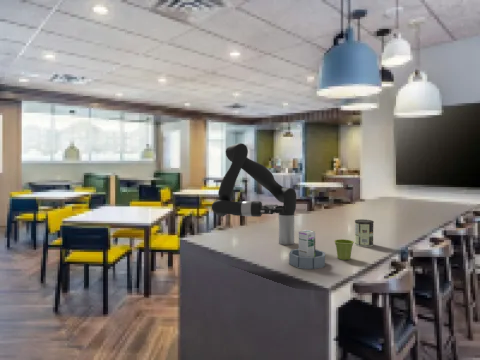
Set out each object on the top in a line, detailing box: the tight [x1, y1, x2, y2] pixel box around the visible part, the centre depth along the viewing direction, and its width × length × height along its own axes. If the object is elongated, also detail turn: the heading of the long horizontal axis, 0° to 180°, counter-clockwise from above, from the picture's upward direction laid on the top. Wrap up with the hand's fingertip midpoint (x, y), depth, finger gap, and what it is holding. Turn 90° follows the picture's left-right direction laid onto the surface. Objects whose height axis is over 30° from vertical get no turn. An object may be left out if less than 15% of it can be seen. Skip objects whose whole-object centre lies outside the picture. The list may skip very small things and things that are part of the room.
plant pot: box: [334, 238, 355, 261], centre depth 168 cm, size 9×9×9 cm
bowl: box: [288, 248, 326, 270], centre depth 160 cm, size 16×16×5 cm
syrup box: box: [298, 229, 316, 257], centre depth 160 cm, size 6×6×14 cm
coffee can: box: [354, 219, 375, 248], centre depth 195 cm, size 10×10×14 cm
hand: (284, 209), depth 162 cm, fingers open, 8 cm apart
